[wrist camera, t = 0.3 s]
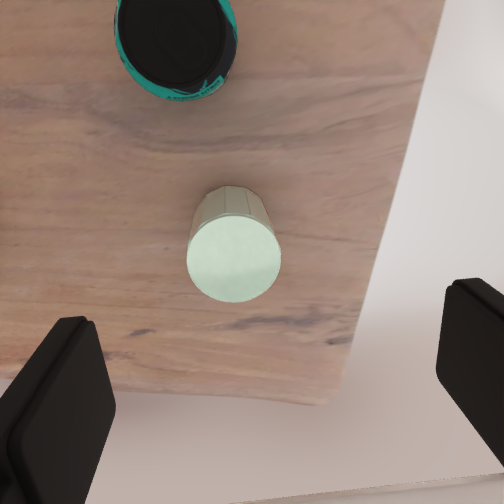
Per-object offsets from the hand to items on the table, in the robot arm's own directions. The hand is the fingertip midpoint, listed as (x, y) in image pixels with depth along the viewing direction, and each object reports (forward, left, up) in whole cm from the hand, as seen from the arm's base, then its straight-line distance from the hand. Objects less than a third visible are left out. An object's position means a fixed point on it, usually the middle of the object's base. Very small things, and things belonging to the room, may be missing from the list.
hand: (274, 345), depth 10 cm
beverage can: (-5, -9, -27) cm, 29 cm away
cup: (+5, +2, -27) cm, 28 cm away
